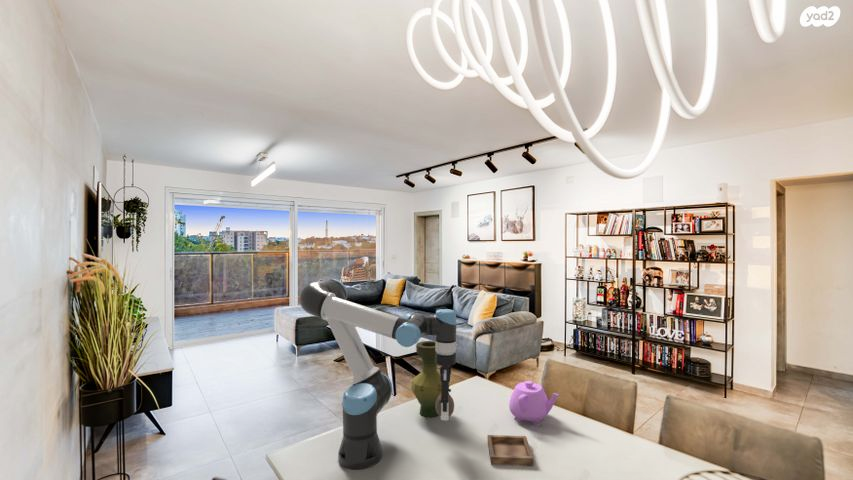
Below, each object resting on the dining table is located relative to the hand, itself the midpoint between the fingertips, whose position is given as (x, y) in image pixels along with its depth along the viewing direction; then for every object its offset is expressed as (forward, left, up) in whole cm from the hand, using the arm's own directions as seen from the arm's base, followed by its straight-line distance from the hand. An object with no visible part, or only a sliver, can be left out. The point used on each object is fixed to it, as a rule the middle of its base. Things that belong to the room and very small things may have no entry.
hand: (445, 414), depth 138 cm
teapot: (+36, +21, -11) cm, 43 cm away
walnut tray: (+23, -4, -11) cm, 25 cm away
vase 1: (-7, +25, -11) cm, 28 cm away
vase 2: (0, 0, -1) cm, 1 cm away
